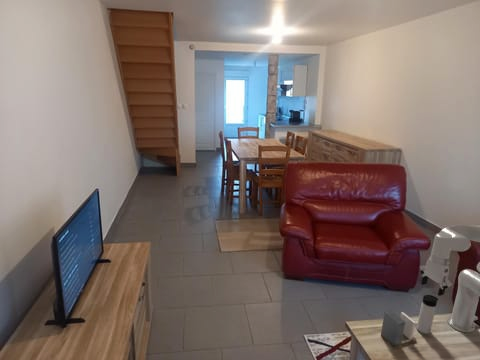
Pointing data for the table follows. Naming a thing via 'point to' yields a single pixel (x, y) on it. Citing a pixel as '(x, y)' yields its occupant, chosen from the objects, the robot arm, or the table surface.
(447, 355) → the table surface
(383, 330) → the grey bracket
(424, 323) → the travel mug
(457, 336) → the table surface
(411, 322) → the white flat slab
